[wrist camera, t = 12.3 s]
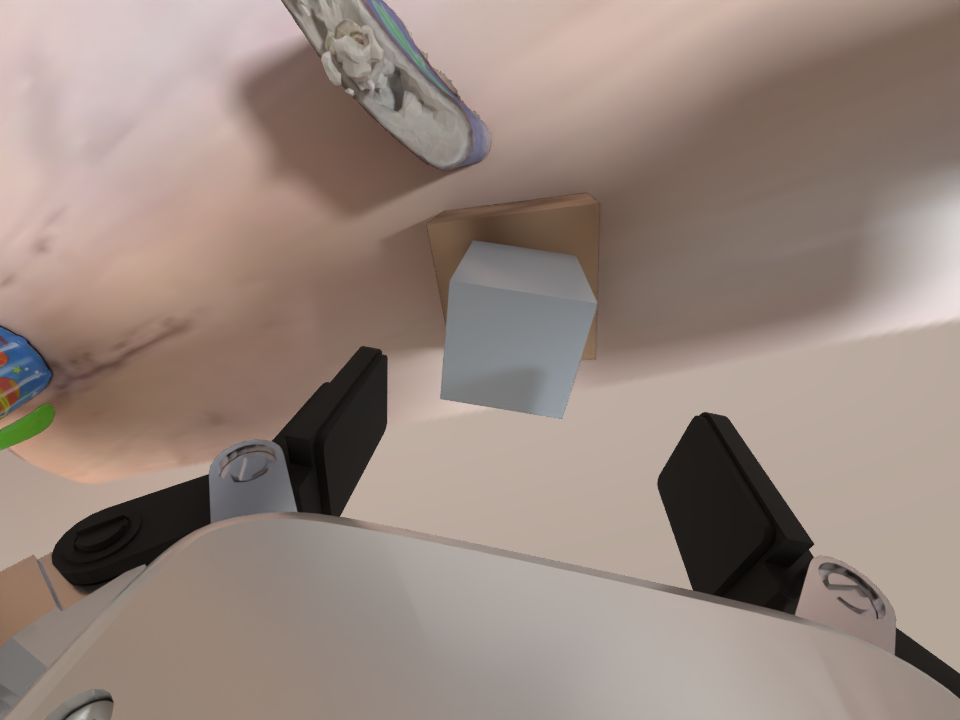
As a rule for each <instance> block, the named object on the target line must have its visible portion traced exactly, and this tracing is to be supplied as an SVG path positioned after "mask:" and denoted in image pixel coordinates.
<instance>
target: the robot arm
mask: <svg viewBox="0 0 960 720" xmlns="http://www.w3.org/2000/svg"><path fill="white" fill-rule="evenodd" d="M386 425H387V356H386V355H382V351H381V350H380V349H375V348H370V347H365V346H362V347H360V348H359V350H358V351H357V352H356V353H355V354H354V355H353V357H352V358H351V359H350V360H349V361H348V362H347V364H346V365H345V366H344V367H343V368H342V369H341V371H340V372H339V373H338V374H337V375H336V376H335V377H334V379H333V380H332V381H331V382H330V383H329V382H326V383H324V384H323V385H321V386H320V388H319V389H318V390H317V391H316V392H315V393H314V394H313V395H312V397H311V398H310V399H309V400H308V401H307V402H306V403H305V404H304V406H303V407H302V408H301V409H300V410H299V411H298V412H297V413H296V415H295V416H294V417H293V418H292V419H291V420H290V421H289V422H288V424H287V425H286V426H285V427H284V428H283V429H282V430H281V431H280V433H279V434H278V435H277V436H276V437H275V438H274V439H273V441H272V442H271V441H268V440H250V441H244V442H241V443H239V444H236V445H233V446H231V447H230V448H228V449H226V450H224V451H223V452H222V453H221V454H220V455H218V456H217V457H216V458H215V460H214V461H213V463H212V464H211V466H210V471H209V474H208V475H205V476H202V477H199V478H196V479H193V480H190V481H187V482H184V483H181V484H178V485H175V486H172V487H169V488H166V489H163V490H160V491H157V492H154V493H151V494H148V495H145V496H142V497H139V498H136V499H133V500H130V501H127V502H124V503H121V504H118V505H115V506H112V507H109V508H106V509H104V510H101V511H99V512H97V513H94V514H92V515H90V516H89V517H87V518H85V519H83V520H82V521H80V522H78V523H77V524H76V525H74V526H73V527H72V528H71V529H70V530H69V531H67V532H66V533H65V534H64V535H63V536H62V538H61V539H60V540H59V541H58V542H57V544H56V545H55V548H54V550H53V552H51V553H49V554H47V555H45V556H44V557H42V558H40V559H37V558H36V557H35V556H34V555H32V556H30V557H28V558H26V559H24V560H22V561H20V562H18V563H17V564H14V565H12V566H10V567H8V568H6V569H5V570H3V571H1V572H0V720H960V674H959V673H958V672H957V671H955V670H954V669H952V668H951V667H950V666H948V665H947V664H946V663H944V662H943V661H942V660H940V659H938V658H937V657H936V656H935V655H933V654H932V653H930V652H929V651H928V650H926V649H925V648H924V647H922V646H921V645H919V644H918V643H917V642H915V641H914V640H912V639H911V638H910V637H908V636H907V635H905V634H904V633H903V632H902V631H900V630H899V629H897V628H896V616H895V612H894V609H893V607H892V605H891V604H890V602H889V600H888V599H887V598H886V596H885V595H884V594H883V593H882V591H881V590H880V589H879V588H878V587H877V586H876V585H875V584H874V583H873V582H872V581H871V580H869V579H868V578H867V577H866V576H865V575H863V574H862V573H860V572H859V571H858V570H856V569H855V568H853V567H852V566H850V565H848V564H846V563H844V562H842V561H840V560H838V559H835V558H832V557H828V556H817V557H813V555H812V554H811V552H810V551H809V549H810V548H811V547H812V546H813V545H814V543H813V541H812V540H811V539H810V537H809V536H808V534H807V533H806V531H805V530H804V528H803V527H802V525H801V524H800V522H799V521H798V520H797V518H796V517H795V515H794V514H793V512H792V511H791V509H790V508H789V506H788V505H787V503H786V502H785V501H784V499H783V498H782V496H781V495H780V493H779V492H778V490H777V489H776V488H775V486H774V484H773V483H772V481H771V480H770V479H769V477H768V476H767V474H766V473H765V471H764V470H763V469H762V467H761V465H760V464H759V462H758V461H757V459H756V458H755V457H754V455H753V454H752V452H751V451H750V449H749V448H748V447H747V445H746V444H745V442H744V441H743V439H742V438H741V436H740V435H739V433H738V432H737V430H736V429H735V427H734V426H733V424H732V423H731V422H730V420H729V419H728V418H727V417H726V416H721V415H717V414H712V413H707V412H704V413H702V414H700V415H699V416H695V417H694V418H693V419H692V421H691V422H690V424H689V426H688V427H687V429H686V431H685V433H684V434H683V436H682V438H681V440H680V441H679V443H678V445H677V446H676V448H675V450H674V451H673V453H672V455H671V456H670V458H669V460H668V462H667V463H666V465H665V467H664V468H663V470H662V472H661V474H660V475H659V478H658V490H659V493H660V496H661V499H662V501H663V504H664V507H665V510H666V513H667V516H668V519H669V521H670V525H671V528H672V531H673V533H674V536H675V539H676V542H677V545H678V548H679V551H680V554H681V557H682V560H683V562H684V565H685V568H686V571H687V574H688V577H689V580H690V583H691V585H692V589H693V591H692V590H687V589H683V588H678V587H674V586H669V585H664V584H660V583H656V582H651V581H647V580H642V579H637V578H633V577H628V576H624V575H619V574H615V573H610V572H605V571H601V570H596V569H592V568H586V567H582V566H577V565H573V564H568V563H563V562H559V561H554V560H549V559H545V558H540V557H536V556H531V555H526V554H521V553H517V552H512V551H507V550H503V549H498V548H493V547H488V546H483V545H479V544H474V543H469V542H465V541H460V540H455V539H450V538H445V537H440V536H436V535H431V534H426V533H421V532H416V531H411V530H407V529H402V528H396V527H392V526H386V525H380V524H376V523H370V522H366V521H360V520H355V519H350V518H344V517H340V515H341V513H342V512H343V510H344V508H345V506H346V504H347V502H348V500H349V498H350V496H351V495H352V493H353V491H354V489H355V487H356V485H357V483H358V481H359V479H360V478H361V476H362V474H363V472H364V470H365V468H366V466H367V464H368V462H369V460H370V458H371V457H372V455H373V453H374V451H375V449H376V447H377V445H378V443H379V442H380V440H381V438H382V436H383V434H384V432H385V429H386Z"/></svg>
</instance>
